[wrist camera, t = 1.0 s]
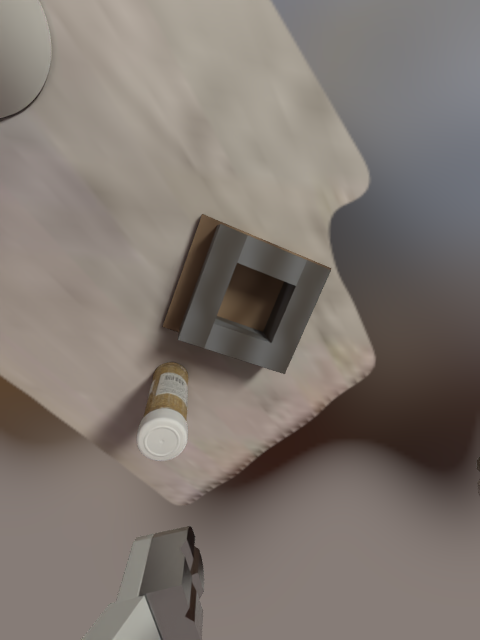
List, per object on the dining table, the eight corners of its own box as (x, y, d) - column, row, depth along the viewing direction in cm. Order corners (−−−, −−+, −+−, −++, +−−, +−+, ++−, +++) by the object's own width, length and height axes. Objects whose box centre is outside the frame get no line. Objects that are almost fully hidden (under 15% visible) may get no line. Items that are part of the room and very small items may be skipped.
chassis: (163, 324, 39) (158, 338, 34) (202, 214, 37) (203, 211, 31) (284, 364, 43) (297, 382, 38) (327, 267, 40) (348, 272, 35)
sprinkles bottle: (145, 379, 41) (124, 446, 28) (169, 354, 40) (158, 409, 28) (173, 399, 42) (165, 471, 29) (196, 375, 42) (198, 437, 29)
